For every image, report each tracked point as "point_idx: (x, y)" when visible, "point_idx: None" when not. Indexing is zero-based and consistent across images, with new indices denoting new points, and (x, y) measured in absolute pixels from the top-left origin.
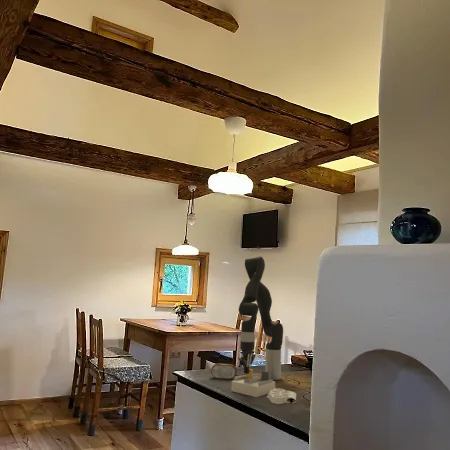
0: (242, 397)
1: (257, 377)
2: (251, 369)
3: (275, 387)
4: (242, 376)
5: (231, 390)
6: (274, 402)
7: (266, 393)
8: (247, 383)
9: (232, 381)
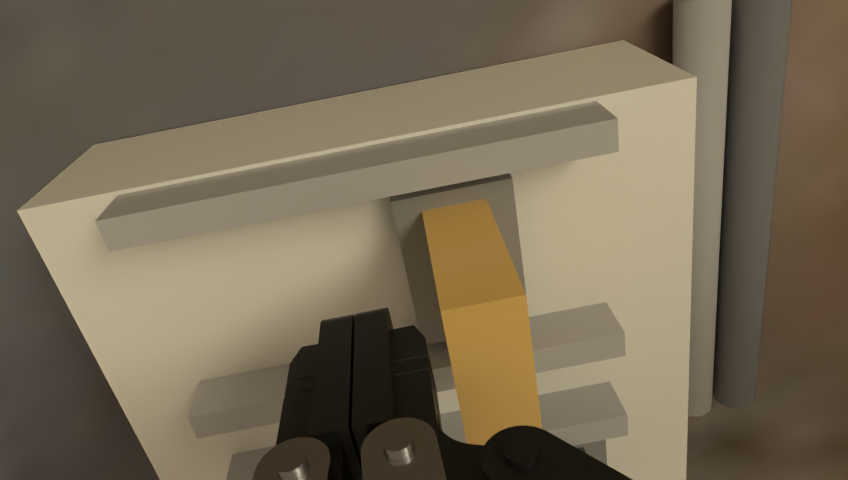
0: (74, 439)
1: (587, 353)
2: (508, 426)
3: (696, 414)
4: (346, 202)
5: (92, 148)
6: None
7: None
8: (216, 444)
9: (27, 227)
